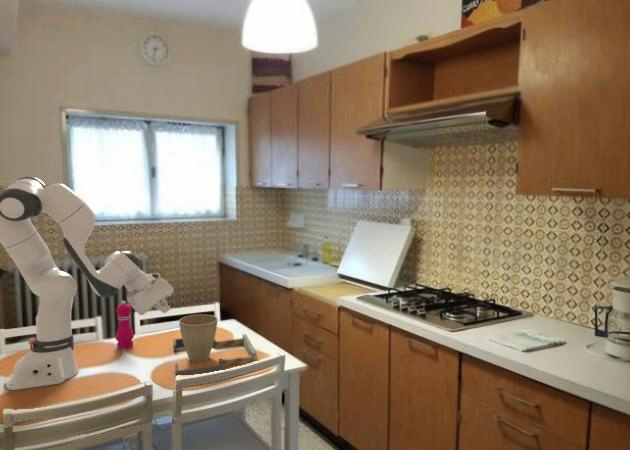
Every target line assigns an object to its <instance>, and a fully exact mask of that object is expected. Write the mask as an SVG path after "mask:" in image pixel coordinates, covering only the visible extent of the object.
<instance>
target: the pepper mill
mask: <svg viewBox="0 0 630 450" xmlns="http://www.w3.org/2000/svg"><path fill="white" fill-rule="evenodd" d="M120 303H121V304H119V305H118V306H117V307H116V310H115V312H116V314H117V320H118V328H117V331H116V333H115V340H116V342H117V344H116V345H117V346H116V347H117V349H120V350H126V349H130V348H132V347H133V346H134V341H133V339H134V337H135V334H134V331H133V329H132V327H131V323H130V319H131V312H132V306H131V305H130V304H129V303H128V304H127V302H126V301H125V300H122V301H121V302H120Z"/></svg>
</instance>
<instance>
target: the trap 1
mask: <svg viewBox="0 0 630 450" xmlns="http://www.w3.org/2000/svg"><path fill="white" fill-rule="evenodd" d="M216 341H217V340H216V337H215V338H214V342H213V346H212V348H216ZM184 351H185V352H186V349H185V347H184V343H183V340H182V337H181V338H173V352H174V353H176V352H184Z"/></svg>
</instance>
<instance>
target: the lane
mask: <svg viewBox="0 0 630 450" xmlns="http://www.w3.org/2000/svg"><path fill="white" fill-rule="evenodd" d="M235 346H236V347H237V346H243V347H244V348H245V351H246V353H247V354H248V356H238V357H236V356H235V357H229V358H222V361H223V364H224V368H227V367H231V366H232V367H233V366H243V365H248V364H247V363H251V362H254V361H257V351H256V349H255V347H254V346H253V344H252V343H251V341H250V339H249V337H248V335H247V334H242V338H240V337H239V338H231V339H222V340H216V347H215V348H225V347H235ZM242 364H243V365H242ZM251 364H252V363H251Z"/></svg>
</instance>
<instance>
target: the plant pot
mask: <svg viewBox="0 0 630 450" xmlns="http://www.w3.org/2000/svg"><path fill="white" fill-rule="evenodd" d="M218 320H219V319H218V317H217V316H215V315H212V314H191V315H187V316H184V317H181V318H180V319H179V320H178V323H179V329H180V335H181V338H182V340H183V343H184V347H185V349H186V351H185V352H186V355H187V357H188V359H189V361H190V362H197V363H199V362H204V361H207V360H208V359H209V356H210V354H211V351H212V346H213V342H214V338H215V339H216V332H217V328H218V327H217V326H218Z"/></svg>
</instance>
